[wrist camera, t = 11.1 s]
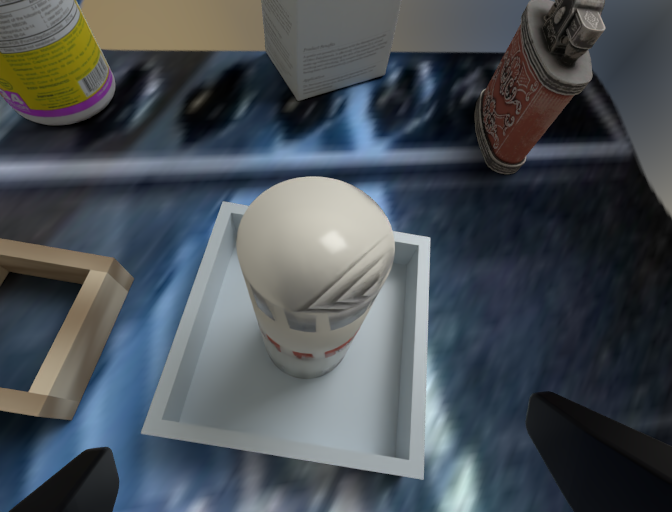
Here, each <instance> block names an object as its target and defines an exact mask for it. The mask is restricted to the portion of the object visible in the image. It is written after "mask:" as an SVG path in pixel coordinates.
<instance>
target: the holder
mask: <svg viewBox="0 0 672 512" xmlns="http://www.w3.org/2000/svg"><path fill="white" fill-rule="evenodd" d="M9 272H14V273H20V274H26V275H32V276H37V277H43V278H49V279H55V280H61V281H67V282H73V283H79V284H83V286H82V288H81V289H80V291H79V293H78V295H77V297H76V299H75V301H74V303H73V305H72V307H71V309H70V311H69V313H68V315H67V317H66V319H65V321H64V323H63V325H62V327H61V329H60V331H59V333H58V335H57V337H56V339H55V341H54V343H53V345H52V347H51V349H50V351H49V353H48V355H47V356H46V358H45V360H44V362H43V364H42V366H41V368H40V370H39V372H38V374H37V376H36V378H35V380H34V382H33V384H32V386H31V388H30V390H29V392H24V391H18V390H12V389H6V388H0V410H1V411H7V412H13V413H19V414H25V415H31V416H38V417H46V418H55V419H64V420H72V418H73V416H74V414H75V412H76V409H77V407H78V405H79V403H80V400H81V398H82V396H83V394H84V391H85V389H86V387H87V384H88V382H89V380H90V378H91V375H92V373H93V371H94V369H95V366H96V364H97V362H98V359H99V357H100V355H101V353H102V350H103V348H104V346H105V344H106V341H107V339H108V337H109V334H110V332H111V330H112V328H113V325H114V323H115V321H116V319H117V316H118V314H119V312H120V309H121V307H122V305H123V303H124V300H125V298H126V296H127V294H128V291H129V289H130V287H131V284H132V282H133V280H134V278H133V277H132V276H131V275H130V274H129V273H128V272H127V271H126V270H125V269H124V268H123V267H122V266H121V264H120V263H119V262H118V261H117V260H116V259H115V258H111V257H105V256H100V255H94V254H88V253H82V252H76V251H70V250H65V249H59V248H53V247H47V246H41V245H35V244H29V243H24V242H18V241H12V240H6V239H0V286H1V284H2V283H3V281H4V279H5V278H6V276H7V275H8V273H9Z"/></svg>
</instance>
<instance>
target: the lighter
mask: <svg viewBox="0 0 672 512" xmlns="http://www.w3.org/2000/svg"><path fill="white" fill-rule="evenodd" d="M604 4H605V0H555V2H553V1H550V0H531V1H530V2H529V3H528V5H527V7H526V9H525V11H524V12H523V14H522V17H521V25H520V27H519V28H518V30H517V32H516V34H515V36H514V38H513V40H512V41H511V43H510V45H509V47H508V49H507V51H506V53H505V55H504V56H503V58H502V60H501V62H500V64H499V66H498V68H497V70H496V71H495V73H494V75H493V77H492V79H491V81H490V83H489V85H488V86H487V88H486V89H484V90H483V91H482V92H481V94H480V96H479V98H478V100H477V102H476V108H475V131H476V135H477V139H478V144H479V147H480V150H481V152H482V155H483V157H484V160H485V162H486V164H487V165H488V167H490V168H491V169H492V170H494V171H496V172H498V173H502V174H512V173H515V172H516V171H518V170H519V168H520V167H521V166H522V165H523V164H524V162H525V160H526V155H527V154H528V153H529V151H530V150H531V149H532V148H533V146H534V145H535V144H536V143H537V141H538V140H539V139H540V138H541V136H542V135H543V134H544V133H545V131H546V130H547V129H548V128H549V126H550V125H551V124H552V123H553V121H554V120H555V119H556V117H557V116H558V115H559V114H560V112H561V111H562V110H563V109H564V107H565V106H566V105H567V104H568V102H569V101H570V100H571V99H572V97H573V96H574V95H576V94H579V93H580V92H581V91H582V90H583V89H584V88H585V87H586V85H587V84H588V83H589V82H590V80H591V79H592V67H591V58H590V55H589V52H588V49H590V48H591V47H592V46H593V45H594V43H595V42H596V41H597V39H598V38H599V37H600V35H601V34H602V33H603V31H604V30H605V25H604V23H603V21H602V19H601V17H600V16H601V12H602V10H603V7H604Z"/></svg>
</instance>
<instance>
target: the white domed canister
mask: <svg viewBox="0 0 672 512" xmlns="http://www.w3.org/2000/svg"><path fill="white" fill-rule="evenodd" d="M236 248H237V256H238V260H239V263H240V267H241V270H242V273H243V276H244V280H245V283H246V286H247V289H248V292H249V296H250V299H251V302H252V305H253V309H254V312H255V315H256V318H257V321H258V325H259V328H260V331H261V334H262V338H263V341H264V344H265V347H266V350H267V353H268V355H269V357H270V359H271V360H272V362H273V363H274V364H275V365H276V366H277V367H278V368H279V369H280V370H281V371H283V372H284V373H286V374H288V375H290V376H293V377H296V378H301V379H312V378H317V377H320V376H323V375H325V374H327V373H329V372H330V371H332V370H333V369H334V368H336V367H337V366H338V365H339V363H340V362H341V361H342V359H343V358H344V356H345V354H346V353H347V351H348V349H349V347H350V345H351V343H352V341H353V340H354V338H355V336H356V334H357V332H358V330H359V329H360V327H361V325H362V323H363V321H364V319H365V318H366V316H367V314H368V312H369V310H370V308H371V306H372V305H373V303H374V301H375V299H376V297H377V295H378V294H379V292H380V290H381V288H382V286H383V284H384V283H385V281H386V279H387V277H388V275H389V273H390V270H391V268H392V264H393V261H394V254H395V241H394V235H393V231H392V228H391V225H390V223H389V221H388V219H387V217H386V215H385V214H384V212H383V210H382V209H381V208H380V207H379V205H378V204H377V203H376V202H375V201H374V200H373V199H372V198H371V197H370V196H368V195H367V194H366V193H364V192H363V191H361V190H360V189H358V188H356V187H354V186H352V185H350V184H348V183H346V182H343V181H339V180H336V179H331V178H326V177H300V178H295V179H290V180H287V181H284V182H281V183H279V184H277V185H275V186H273V187H271V188H269V189H268V190H266V191H265V192H263V193H262V194H261V195H260V196H258V197H257V198H256V199H255V200H254V201H253V202H252V203H251V205H250V206H249V207H248V209H247V210H246V212H245V213H244V215H243V217H242V219H241V222H240V225H239V227H238V232H237V240H236Z"/></svg>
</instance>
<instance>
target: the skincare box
mask: <svg viewBox="0 0 672 512" xmlns="http://www.w3.org/2000/svg"><path fill="white" fill-rule="evenodd" d="M261 2H262V11H263V24H264V33H265V48H266V53H267V54H268V56H269V57H270V59H271V60H272V62H273V63H274V65H275V67H276V68H277V70H278V71H279V73H280V74H281V76H282V77H283V79H284V80H285V82H286V84H287V85H288V87H289V88H290V90H291V91H292V93H293V94H294V96H295V98H296V99H297V100H298V101H300V100H304V99H307V98H310V97H313V96H317V95H320V94H323V93H327V92H330V91H333V90H336V89H340V88H343V87H346V86H350V85H353V84H356V83H360V82H363V81H367V80H370V79H373V78H377V77H380V76H383V75H385V72H386V68H387V64H388V59H389V55H390V51H391V46H392V42H393V37H394V32H395V28H396V23H397V20H398V16H399V11H400V7H401V2H402V0H261Z"/></svg>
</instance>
